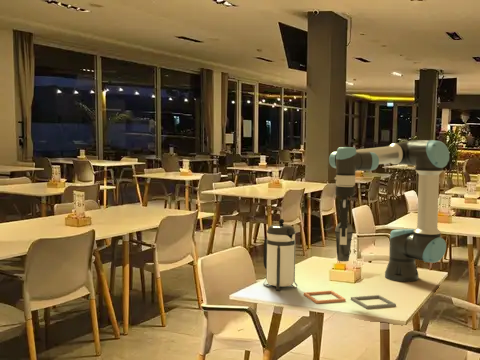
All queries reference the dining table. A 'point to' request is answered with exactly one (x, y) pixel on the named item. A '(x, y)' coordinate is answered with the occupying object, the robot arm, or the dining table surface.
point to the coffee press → (280, 255)
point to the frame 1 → (324, 300)
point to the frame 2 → (390, 304)
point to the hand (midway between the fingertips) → (343, 242)
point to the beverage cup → (343, 250)
